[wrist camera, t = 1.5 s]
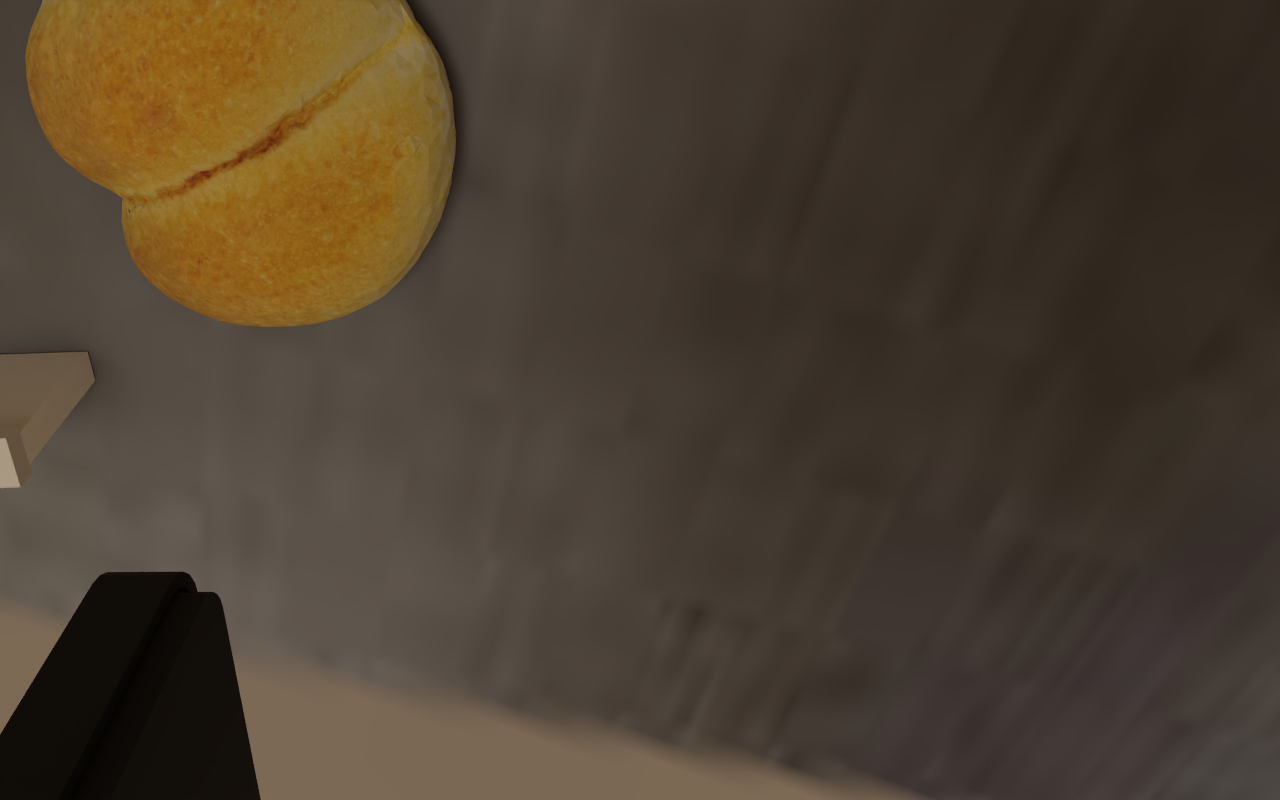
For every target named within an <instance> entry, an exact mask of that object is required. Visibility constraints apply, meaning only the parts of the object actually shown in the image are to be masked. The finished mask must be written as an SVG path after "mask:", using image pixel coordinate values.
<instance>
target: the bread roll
mask: <svg viewBox="0 0 1280 800" xmlns="http://www.w3.org/2000/svg"><path fill="white" fill-rule="evenodd" d="M25 59H26V73H27V83H28V88H29V93H30V99H31V102H32V105H33V108H34V111H35V113H36V116H37V119H38V121H39V124H40V126H41V128H42V130H43V132H44V134H45V136H46V138H47V140H48V141H49V142H50V144H51V145H52V147H53V148H54V149H55V151H56V152H57V153H58V154H59V155H60V156H61V157H62V158H63V159H64V160H65V161H66V162H67V163H68V164H70V165H71V166H72V167H73V168H75V169H76V170H77V171H78V172H80V173H81V174H82V175H84V176H85V177H86V178H88V179H90V180H91V181H93V182H95V183H97V184H99V185H101V186H103V187H105V188H107V189H109V190H111V191H112V192H114V193H116V194H117V195H119V196H120V197H121V198H122V226H123V232H124V237H125V240H126V243H127V246H128V250H129V253H130V256H131V258H132V259H133V261H134V262H135V264H136V266H137V267H138V269H139V270H140V271H141V272H142V273H143V275H144V276H145V277H146V278H147V279H148V280H149V281H150V282H151V283H152V284H153V285H154V286H156V287H157V288H158V289H159V290H160V291H161V292H163V293H164V294H165V295H166V296H168V297H170V298H171V299H173V300H175V301H176V302H178V303H180V304H182V305H184V306H186V307H188V308H190V309H192V310H194V311H196V312H198V313H200V314H203V315H206V316H208V317H211V318H214V319H217V320H219V321H222V322H226V323H232V324H239V325H247V326H262V327H279V326H301V325H308V324H315V323H321V322H325V321H329V320H332V319H336V318H340V317H342V316H345V315H348V314H350V313H352V312H354V311H357V310H359V309H361V308H363V307H365V306H367V305H370V304H372V303H373V302H375V301H376V300H378V299H380V298H381V297H383V296H385V295H386V294H387V293H388V292H389V291H390V290H391V289H392V288H393V287H394V286H395V285H396V284H397V283H398V282H399V281H400V280H401V279H402V278H403V277H404V276H405V275H406V274H407V273H408V272H409V270H410V269H411V268H412V267H413V265H414V264H415V263H416V262H417V260H418V258H419V257H420V255H421V253H422V252H423V250H424V249H425V247H426V246H427V244H428V242H429V241H430V239H431V237H432V235H433V233H434V231H435V230H436V228H437V226H438V224H439V221H440V219H441V216H442V213H443V210H444V207H445V204H446V200H447V197H448V194H449V190H450V186H451V183H452V171H453V165H454V159H455V150H456V137H455V135H456V130H455V122H454V111H453V98H452V93H451V90H450V85H449V82H448V78H447V74H446V70H445V68H444V65H443V62H442V60H441V58H440V55H439V53H438V52H437V50H436V49H435V47H434V45H433V43H432V41H431V40H430V38H429V37H428V36H427V35H426V33H425V32H424V30H423V28H422V27H421V25H420V24H419V23H418V22H417V21H416V20H415V17H414V15H413V12H412V10H411V8H410V7H409V5H408V3H407V1H406V0H43V1H42V5H41V7H40V9H39V12H38V14H37V16H36V19H35V21H34V23H33V26H32V28H31V31H30V35H29V39H28V43H27V48H26V55H25Z"/></svg>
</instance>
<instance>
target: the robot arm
mask: <svg viewBox="0 0 1280 800" xmlns="http://www.w3.org/2000/svg"><path fill="white" fill-rule="evenodd" d="M0 800H261V799H260V794H259V789H258V784H257V779H256V774H255V769H254V764H253V759H252V753H251V748H250V743H249V738H248V733H247V728H246V723H245V718H244V712H243V708H242V702H241V697H240V692H239V687H238V682H237V677H236V671H235V666H234V661H233V656H232V651H231V646H230V641H229V636H228V630H227V625H226V620H225V615H224V610H223V606H222V603H221V600H220V598H219V596H218V595H217V594H216V593H214V592H198V591H197V588H196V585H195V582H194V581H193V579H192V577H191V576H190V574H187V573H185V572H107V573H105V574H102V575H100V576H99V577H98V578H97V579H96V580H95V582H94V583H93V584H92V585H91V587H90V589H89V590H88V592H87V594H86V595H85V597H84V599H83V600H82V602H81V603H80V605H79V607H78V608H77V610H76V612H75V613H74V615H73V616H72V618H71V620H70V621H69V623H68V625H67V626H66V628H65V630H64V631H63V633H62V634H61V636H60V638H59V640H58V641H57V643H56V644H55V646H54V648H53V649H52V651H51V653H50V654H49V656H48V658H47V659H46V661H45V662H44V664H43V665H42V667H41V669H40V671H39V672H38V674H37V675H36V677H35V679H34V680H33V682H32V683H31V685H30V687H29V689H28V690H27V692H26V693H25V695H24V697H23V698H22V700H21V701H20V703H19V705H18V706H17V708H16V710H15V711H14V713H13V715H12V716H11V718H10V719H9V721H8V723H7V724H6V726H5V728H4V729H3V731H2V733H1V734H0Z"/></svg>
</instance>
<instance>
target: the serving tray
mask: <svg viewBox="0 0 1280 800" xmlns="http://www.w3.org/2000/svg"><path fill="white" fill-rule="evenodd" d="M94 382H95V378H94V374H93V370H92V367H91V363H90V359H89V355H88V352H60V353H30V354H0V488H8V487H21V486H22V484H23V483H24V482H25V481H26V479H27V478H28V477H29V475H30V474H31V473H32V471H31V468H30V463H31V462H32V461H33V459H34V458H35V457H36V456H37V454H38V453H39V452H40V451H41V449H42V448H43V447H44V445H45V444H46V443H47V442H48V440H49V439H50V438H51V436H52V435H53V434H54V433H55V431H56V430H57V429H58V428H59V426H60V425H61V424H62V422H63V421H64V420H65V419H66V417H67V416H68V415H69V414H70V412H71V411H72V410H73V408H74V407H75V406H76V405H77V403H78V402H79V401H80V400H81V398H82V397H83V396H84V394H85V393H86V392H87V391H88V389H89V388H90V387H91V385H92V384H93V383H94Z"/></svg>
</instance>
